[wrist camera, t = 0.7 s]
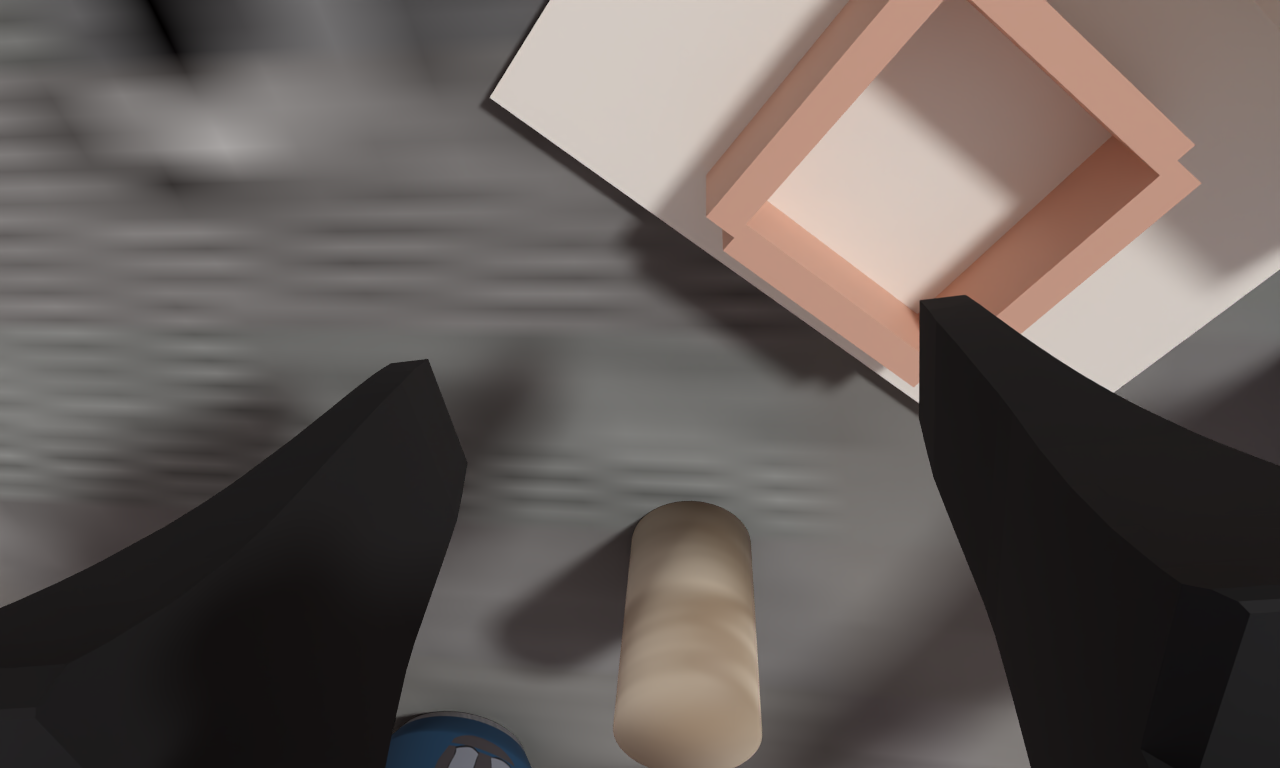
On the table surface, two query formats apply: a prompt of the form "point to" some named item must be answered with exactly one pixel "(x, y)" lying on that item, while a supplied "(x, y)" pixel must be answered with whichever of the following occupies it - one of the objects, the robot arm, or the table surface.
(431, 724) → the soda can
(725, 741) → the beige cylinder
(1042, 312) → the cup bracket
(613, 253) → the table surface
